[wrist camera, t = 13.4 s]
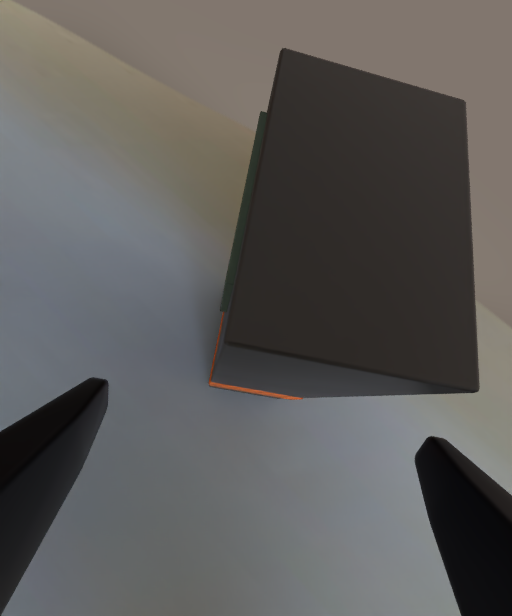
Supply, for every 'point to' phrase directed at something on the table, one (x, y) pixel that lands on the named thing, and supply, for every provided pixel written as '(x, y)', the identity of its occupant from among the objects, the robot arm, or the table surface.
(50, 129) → the table surface
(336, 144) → the laser measure
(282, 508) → the table surface
